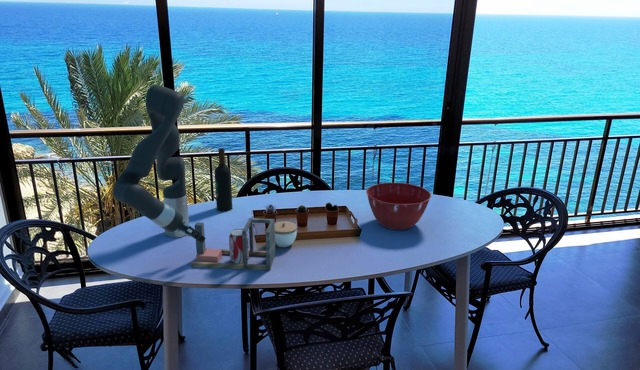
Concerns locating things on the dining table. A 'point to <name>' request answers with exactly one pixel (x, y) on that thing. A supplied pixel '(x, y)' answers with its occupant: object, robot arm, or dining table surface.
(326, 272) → the dining table surface
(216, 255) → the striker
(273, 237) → the grey bar frame
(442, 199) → the dining table surface
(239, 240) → the soda can
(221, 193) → the wine bottle
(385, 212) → the mixing bowl
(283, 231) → the lidded jar
